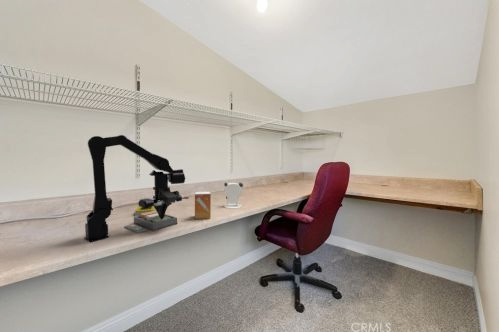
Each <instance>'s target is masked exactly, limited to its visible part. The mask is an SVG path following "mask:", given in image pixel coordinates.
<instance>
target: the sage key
mask: <svg viewBox="0 0 499 332" xmlns="http://www.w3.org/2000/svg"><path fill="white" fill-rule="evenodd" d="M168 219H171V218H170V217H167V216H165V217H164V218H163V219H160V218H157V219H153V223H157V222H161V221H164V220H168Z"/></svg>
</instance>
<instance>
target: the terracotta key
mask: <svg viewBox="0 0 499 332" xmlns="http://www.w3.org/2000/svg"><path fill="white" fill-rule="evenodd" d="M156 213H157V211H151V212H147V213H142V214H140V218H146V216H148V215H152V214H156Z"/></svg>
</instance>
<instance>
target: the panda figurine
mask: <svg viewBox="0 0 499 332" xmlns="http://www.w3.org/2000/svg"><path fill="white" fill-rule="evenodd" d="M243 187H244V184H243V183H242V182H239V183H235V182H229V183H227V182H224V191H223V192H224V194H225V199H226V204H224V205H223V208H225V209H240V208H242V206H243V205H241V204H239V198H240V197H241V196H242V195H243Z"/></svg>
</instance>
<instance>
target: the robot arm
mask: <svg viewBox="0 0 499 332" xmlns="http://www.w3.org/2000/svg"><path fill="white" fill-rule="evenodd" d="M115 146H122V147H123V148H125V149H126V150H127V151H129V152H131V153H132V154H135V155H136V156H138V157H140V158H142V159H143V160H144V161H146V162H147V164H149V165H150V166H151V167H153V170H152V171H151V172H149V176H151V177H154V179H153V181H154V186H153V187H152V190H154V195H153V196H152V199H151V198H147V197H146V198H143V199H142V198H141V199H139V201H138V203H137V204H138V207H139V206H140V207H144V208H148V207H152V206H154V208H155V209H156V212H157V213H158V215H159V217H160V219H163V218H164V215H165V214H166V212H167V209H168V208H169V206H171V205H172V204H175V203H177V202H182V201H183V196H182V195H181V194H180V191H178V190H174V191H171V188H170V187H169V183H170V184H171V185H179V184H181V185H182V184H185V182H186V176H185V172H184V169H181V168H180V169H173V168H172V166H171V165H170V161H169V159H167V158H166V157H163V156H161V155H158V154H155V153H152V152H151V151H149V150H147V149H146V148H144V147H142V146H141V145H139V144H137V143H136V142H135V141H133V140H131V139H130V138H128V137H127V136H125V135H123V134H120V135H117V136H108V137H107V136H106V137H102V136H98V135H96V136H92V137H90V138H89V139H88V141H87V148H88V150H89V154H90V157H91V160H92V172H93V185H94V200H93V204H92V210H91V211H90V212H89V213H88V214H87V215H86V223H84V226H85V227H84V229H85V236H84V237H83V239H84V240H85V241H87V242H89V243H93V242H96V241H100V240H103V239H104V240H105V239H107V238H109V224H108V223H107V219H108V218H109V217H110V216H111V214H112V211H114V209H113V199H112V198H111V197H108V196H107V187H106V183H107V182H106V172H105V157H106V152H107V151H106V150H107V148H108V147H109V148H110V147H115ZM156 170H157V171H156ZM164 172H165V173H164Z"/></svg>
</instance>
